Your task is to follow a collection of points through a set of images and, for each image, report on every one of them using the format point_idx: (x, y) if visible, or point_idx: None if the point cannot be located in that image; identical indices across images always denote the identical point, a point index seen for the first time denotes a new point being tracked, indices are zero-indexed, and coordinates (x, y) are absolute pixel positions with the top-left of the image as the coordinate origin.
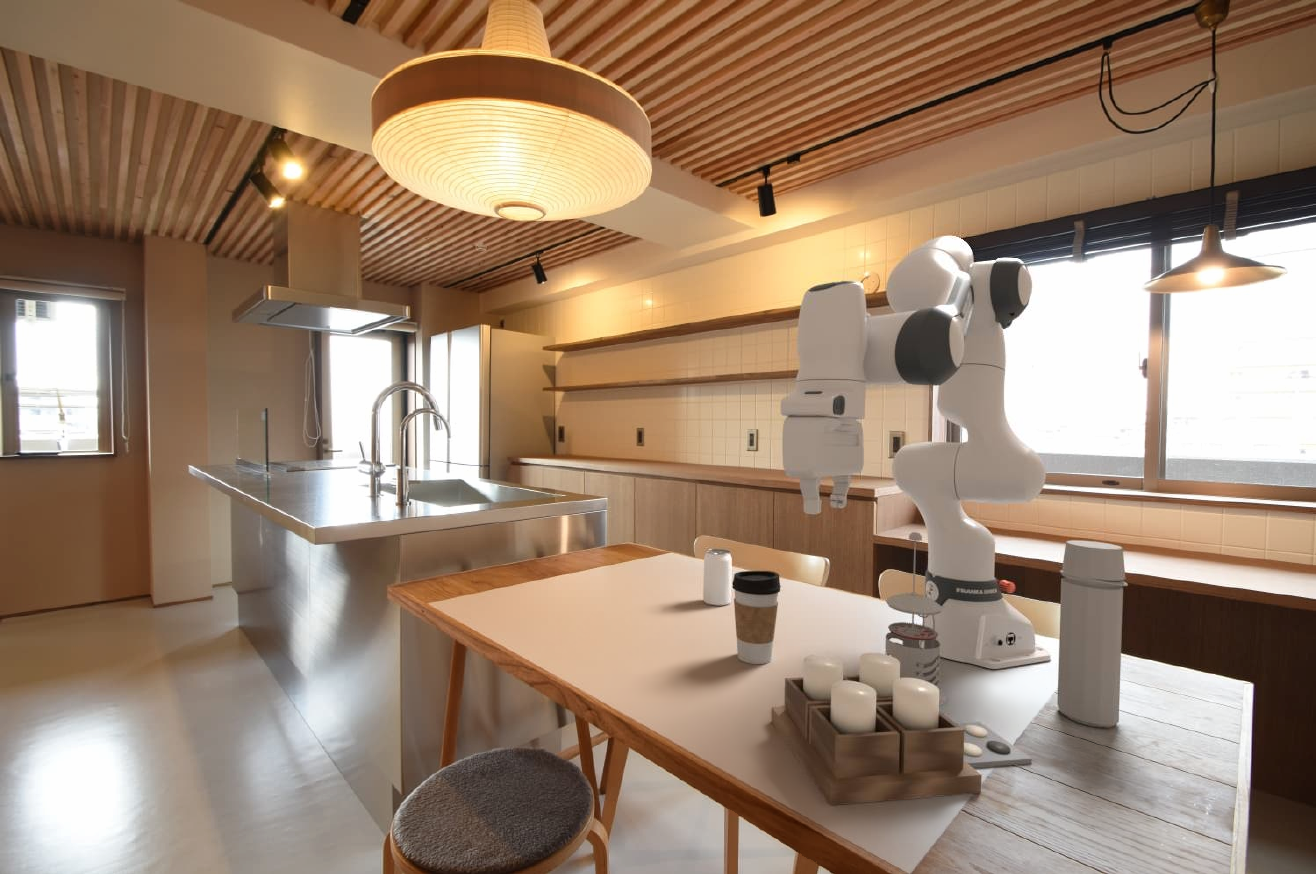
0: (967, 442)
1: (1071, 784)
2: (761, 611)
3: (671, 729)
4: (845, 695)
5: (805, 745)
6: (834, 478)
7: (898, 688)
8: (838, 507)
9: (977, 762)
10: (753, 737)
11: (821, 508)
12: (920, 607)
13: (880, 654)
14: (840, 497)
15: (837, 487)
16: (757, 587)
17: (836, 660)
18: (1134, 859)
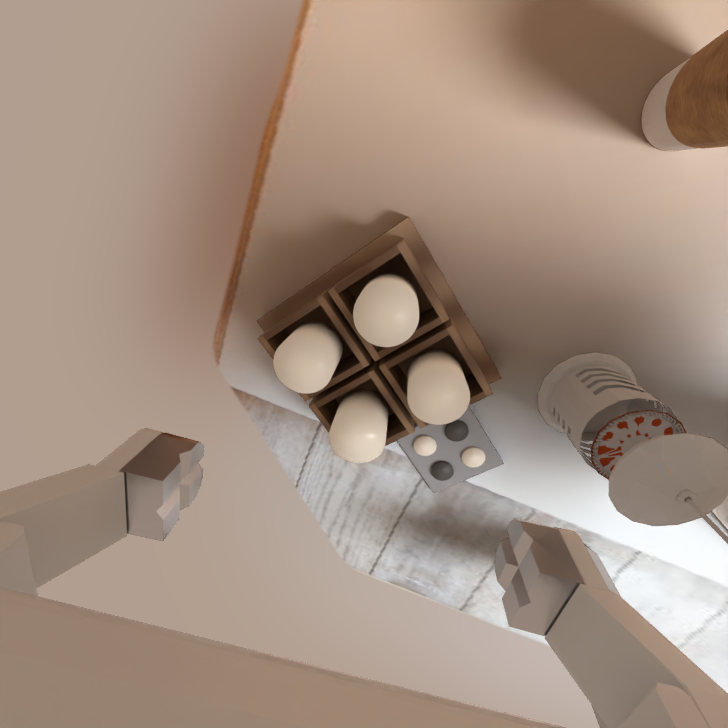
0: None
1: (408, 509)
2: (719, 105)
3: (317, 68)
4: (278, 357)
5: (323, 283)
6: (659, 722)
7: (338, 419)
8: (499, 546)
9: (402, 447)
10: (353, 203)
11: (187, 506)
12: (624, 494)
13: (464, 398)
14: (511, 603)
15: (615, 652)
16: None
17: (405, 335)
18: (319, 517)
